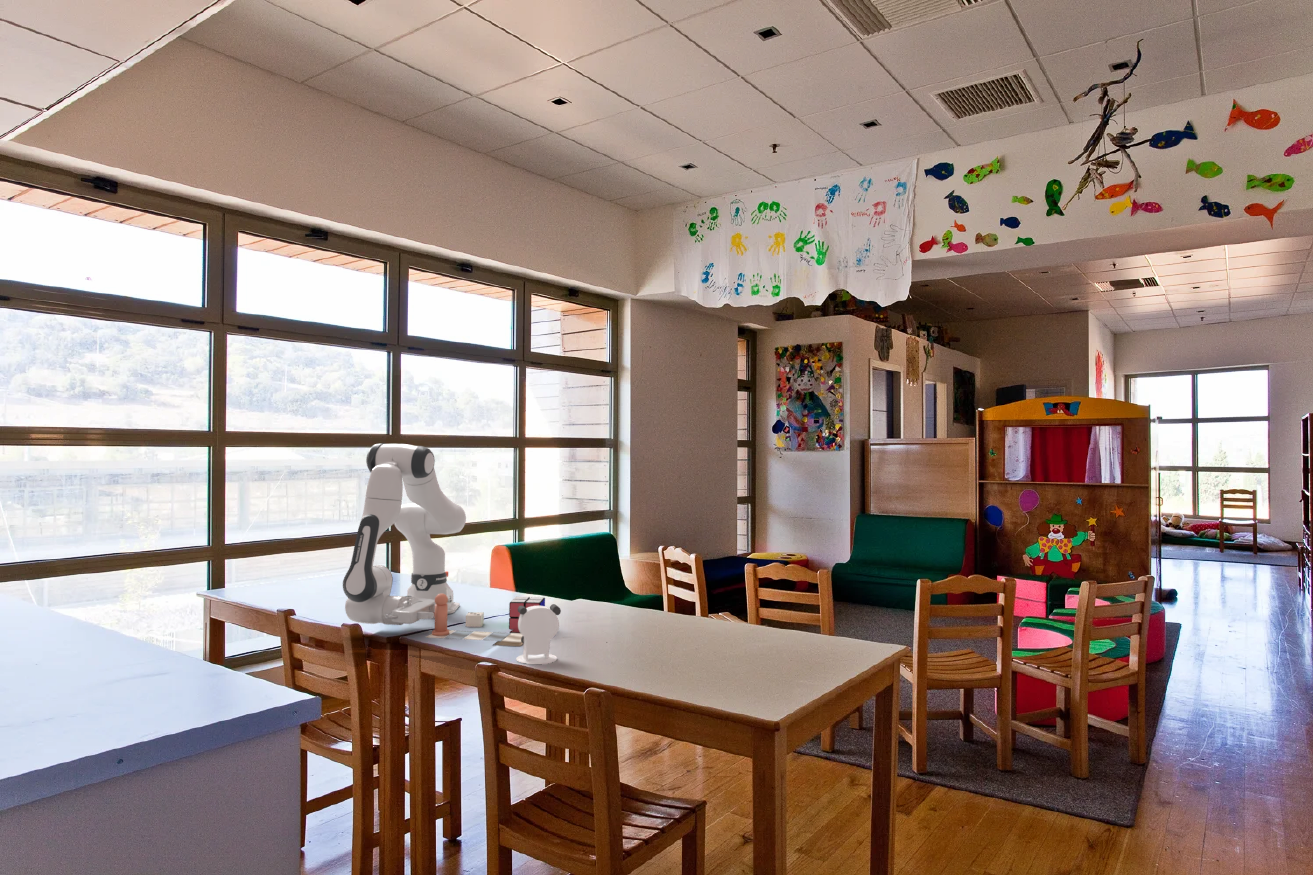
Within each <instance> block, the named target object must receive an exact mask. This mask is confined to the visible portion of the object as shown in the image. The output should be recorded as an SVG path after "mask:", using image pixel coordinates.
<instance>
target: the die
mask: <svg viewBox="0 0 1313 875" xmlns="http://www.w3.org/2000/svg"><path fill="white" fill-rule="evenodd" d="M484 615H485V613H484V612H482V611H481V612H468V613H466V615H465V627H466V628H474V627H475V628H477V627H478V628H479V627H480V628H481V627H482V626H484V623H485V622H484V621H485V620H484V618H485V616H484Z"/></svg>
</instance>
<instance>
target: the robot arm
mask: <svg viewBox="0 0 1313 875" xmlns="http://www.w3.org/2000/svg"><path fill="white" fill-rule="evenodd" d="M365 458H366V460H365V462H366V466H367V468H368V471H369V473H370V475H369V478H368V481H367V487H366V490H365V496H364V497H365V499H364V504H363V505H364V506H363V511H362V516H361V520H360V522H359V525H358V530H357V534H356V539H355V541H354V547H353V552H352V557H351V561H350V565H349V568H348V570H347V571H346V573H345V575H344V578H343V580H342V590H343V592H344V594H345V596H346V597H347V599H346V600H345V606H344V611H345V614H346V616H347V618H348V619H349V620H350V621H352V622H355V623H358V624H359V623H360V624H368V625H369V624H370V625H374V624H375V625H376V624H383V625H391V626H402V625H404V624H406V625H411V624H414V623H416V622H418V621H420V620H427V619H428V620H429V619H431V620H432V619H435V605H436V603H435V597H436V596H437V595H438V594H441V593H443V594H445V595H447V597H448V602H447V604H448V612H447V615H448V614H455V612H456V611H457V609H458V608H459V607H460V606H461V605H460V602H457V601H456V602H455V601H454V590H453V589H452V588H451V586H450V585H449V584H448V583H447V582H448V579H447V578H448V577H449V571H445V569H446V552H445V550H444V548H443V547H442V546H440V545H439V544H437V543H435V542H434V541H433V540H432V538H431V535H451V534H456V533H457V534H458V533H460V532H461V531H462V530H463V528H464V527H465V525H466V521H467V516H466V512H465V510H464V508H463V507H462V506H461V505H458V504H457V503H455V502H454V501H451V499H449V498H448V496H446V495H445V494H444V492H443V491H442V489H441V487H440V485H439V481H438V477H437V473H436V470H435V462H436V461H435V460H436V459H435V455H434V453H433V451H432V450H431V449H430V448H428V447H425V446H423V445H413V444H406V443H385V442H382V443H376V444H373V445H372V446H371V447H370V448H369V450H368V451H367V454H366V457H365ZM403 485H404V487H403ZM403 488H404V489H405V493H406V496H407V498H408V500H409V501H411V502H410V503H404V504H402V503H403V502H402V501H403V491H404V490H403ZM393 525H394V527H395V528H396V530H397V531H399V532H400V533H401V534H402V535H403V536H404V537H405V539H406V540H407V541H408V543H409V546H410V549H411V556H412V573H411V576H410V583H411V585H410V586H409V587H408V588H407V593H406V595H405V596H404V595H391V593H392V587H393V583H394V582H393V579H394V578H393V573H392V571H391V570H390V569H389V568H388V567H386V566H385V565H381V564H378V565H377V564H376V565H374V562H375V561H374V560H375V557H376V552H377V551H376V550H377V545H378V542H379V539H380V538H381V537H382V535H383V534H384V532H385V531H386V530H388V529H389V528H390V527H392V526H393Z"/></svg>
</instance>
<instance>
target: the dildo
mask: <svg viewBox="0 0 1313 875" xmlns="http://www.w3.org/2000/svg"><path fill="white" fill-rule="evenodd" d="M447 602H448V597H447V595H445V594H443V593H441V594H438V595H437V596H436V597H435V603H436V605H435V617H434V629H433V630H432V631H431V634H432V635H435V636H444V635H448V634H449V630H450V629H448V614H447V612H448V604H447ZM449 635H450V634H449ZM449 635H448V636H449Z"/></svg>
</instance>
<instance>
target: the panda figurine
mask: <svg viewBox="0 0 1313 875" xmlns="http://www.w3.org/2000/svg"><path fill="white" fill-rule="evenodd" d="M518 612H519V613H520V617H519V620H518V629H519V631H520V633H521V634H522V635H523V636H522V638H521V641H522V643H523V644H522V645H523V651H522V652H523V653H522V654H521V655H518V656H516V658H515V660H516V662H517V661H518V662H517V663H519V662H521V663H520V664H522V663H528V664H542V665H549V664H552V662H553V663H555V662H556V661H557V660H558V657H557V656H556V655H554V654H552V653H550V648H551V640H552V639H553V638H554V637H555V636H556V635H557V633H558V632H559V629H560V621H559V618H558V616H560V614H561V612H562V610H561V608H560V607H559V606H558V605H556V604H555V603H553V604H551V605H550V606H549V607H547V606H546V605H545V606H531V607H528V608H525V607H524V606H519V607H518ZM548 663H549V664H548ZM528 664H527V665H528Z"/></svg>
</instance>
